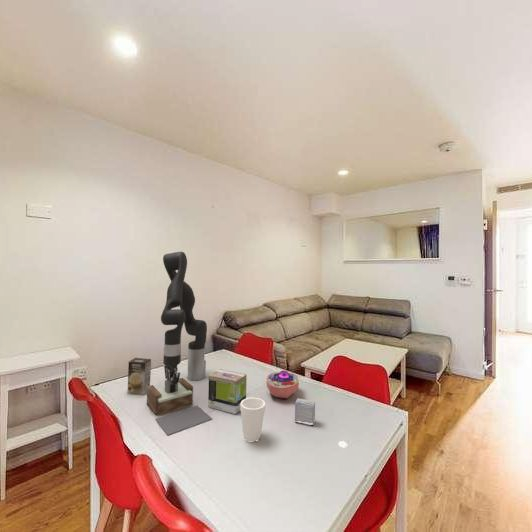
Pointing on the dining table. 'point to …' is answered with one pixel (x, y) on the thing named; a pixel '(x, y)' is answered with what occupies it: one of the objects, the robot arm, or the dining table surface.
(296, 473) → the dining table surface
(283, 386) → the cell model
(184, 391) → the cover plate
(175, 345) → the robot arm
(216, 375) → the tea box
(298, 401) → the medicine box
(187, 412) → the rubber mat
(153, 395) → the walnut box
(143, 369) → the coffee box
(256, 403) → the foam cup
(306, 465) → the dining table surface
